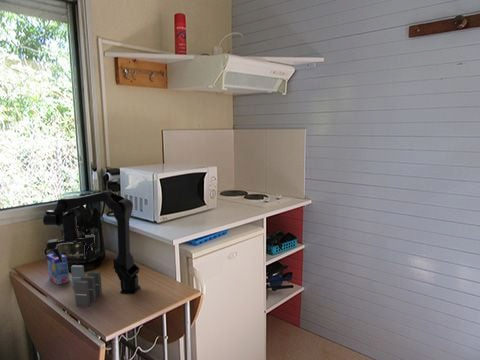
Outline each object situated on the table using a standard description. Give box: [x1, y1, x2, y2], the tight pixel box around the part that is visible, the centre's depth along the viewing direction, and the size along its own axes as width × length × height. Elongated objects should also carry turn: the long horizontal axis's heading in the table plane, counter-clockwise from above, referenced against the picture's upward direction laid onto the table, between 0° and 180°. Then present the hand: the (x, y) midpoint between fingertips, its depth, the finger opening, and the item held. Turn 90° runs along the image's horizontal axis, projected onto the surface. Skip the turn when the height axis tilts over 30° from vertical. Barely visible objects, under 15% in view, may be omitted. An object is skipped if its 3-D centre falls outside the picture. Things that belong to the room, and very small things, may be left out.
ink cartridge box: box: [46, 251, 70, 285], centre depth 161 cm, size 10×6×14 cm, turn 50°
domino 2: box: [73, 281, 91, 308], centre depth 138 cm, size 5×2×10 cm, turn 82°
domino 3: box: [81, 275, 97, 302], centre depth 143 cm, size 5×2×10 cm, turn 82°
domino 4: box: [86, 271, 103, 297], centre depth 147 cm, size 5×2×10 cm, turn 82°
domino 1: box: [70, 264, 86, 289], centre depth 154 cm, size 5×2×10 cm, turn 82°
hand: (73, 260), depth 153 cm, fingers open, 9 cm apart
